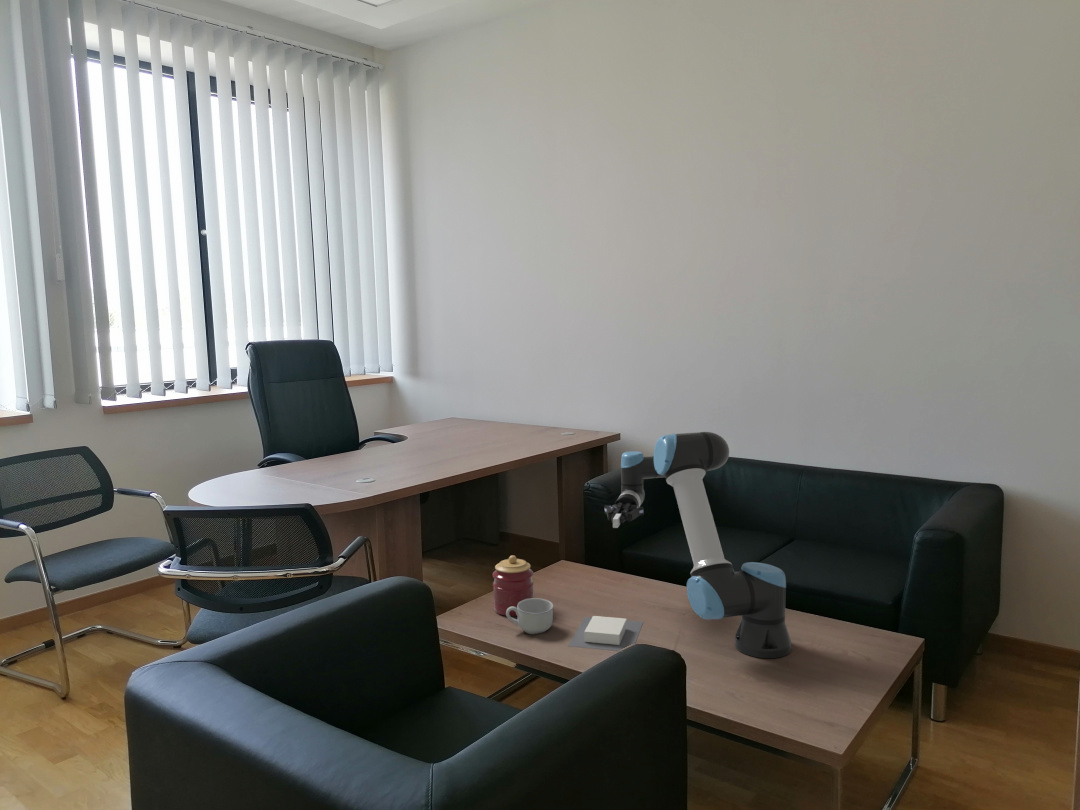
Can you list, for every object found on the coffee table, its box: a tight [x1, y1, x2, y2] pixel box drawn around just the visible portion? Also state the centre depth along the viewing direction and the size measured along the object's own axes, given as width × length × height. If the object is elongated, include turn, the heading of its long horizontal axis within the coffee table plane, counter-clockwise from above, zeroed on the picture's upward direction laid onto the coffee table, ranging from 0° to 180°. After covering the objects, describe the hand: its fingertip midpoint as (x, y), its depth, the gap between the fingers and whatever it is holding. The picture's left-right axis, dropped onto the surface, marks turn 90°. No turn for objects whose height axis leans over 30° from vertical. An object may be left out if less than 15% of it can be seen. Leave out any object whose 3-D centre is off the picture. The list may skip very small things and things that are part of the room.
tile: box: [584, 615, 627, 645], centre depth 228 cm, size 3×10×12 cm
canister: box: [492, 555, 534, 617], centre depth 251 cm, size 13×13×18 cm
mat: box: [567, 616, 644, 652], centre depth 230 cm, size 22×18×1 cm
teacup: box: [505, 597, 554, 635], centre depth 234 cm, size 14×11×8 cm
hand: (615, 523), depth 239 cm, fingers closed
